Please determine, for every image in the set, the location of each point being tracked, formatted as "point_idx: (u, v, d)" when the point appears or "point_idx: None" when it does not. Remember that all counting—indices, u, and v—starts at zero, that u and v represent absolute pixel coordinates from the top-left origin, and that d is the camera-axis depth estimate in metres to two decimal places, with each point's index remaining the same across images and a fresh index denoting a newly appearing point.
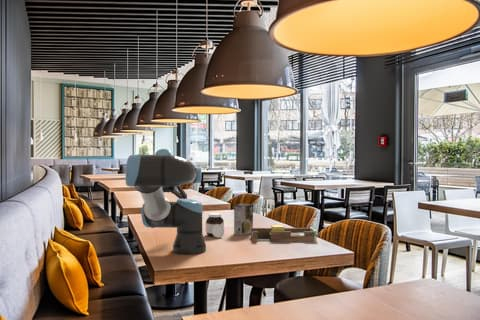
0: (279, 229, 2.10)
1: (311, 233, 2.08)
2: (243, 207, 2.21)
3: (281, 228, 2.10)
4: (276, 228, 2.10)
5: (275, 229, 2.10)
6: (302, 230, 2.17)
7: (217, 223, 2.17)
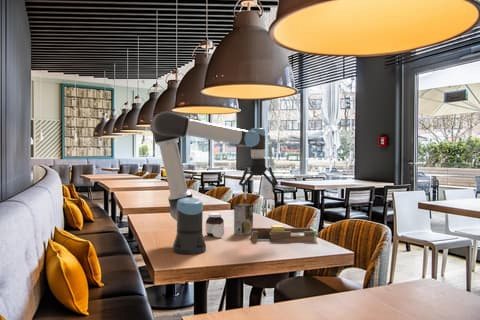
0: (279, 229, 2.10)
1: (311, 233, 2.08)
2: (243, 207, 2.21)
3: (281, 228, 2.10)
4: (276, 228, 2.10)
5: (275, 229, 2.10)
6: (302, 230, 2.17)
7: (217, 223, 2.17)
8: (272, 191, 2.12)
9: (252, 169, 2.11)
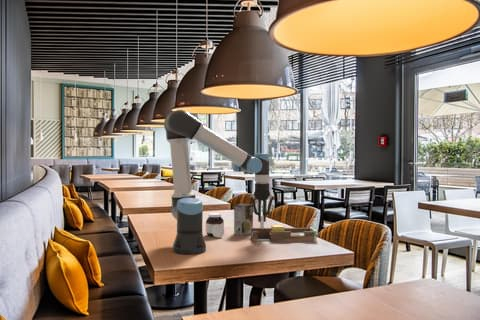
0: (279, 229, 2.10)
1: (311, 233, 2.08)
2: (243, 207, 2.21)
3: (281, 228, 2.10)
4: (276, 228, 2.10)
5: (275, 229, 2.10)
6: (302, 230, 2.17)
7: (217, 223, 2.17)
8: None
9: (256, 194, 2.10)
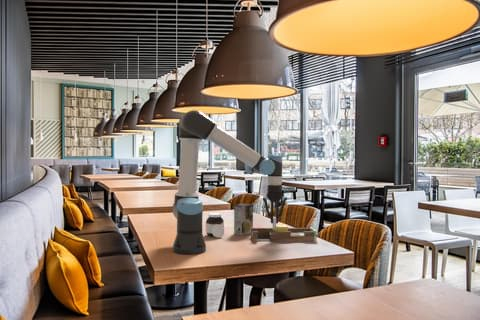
0: (283, 229, 2.10)
1: (311, 233, 2.08)
2: (243, 207, 2.21)
3: (285, 228, 2.10)
4: (280, 228, 2.10)
5: (279, 229, 2.10)
6: (302, 230, 2.17)
7: (217, 223, 2.17)
8: (276, 222, 2.11)
9: (269, 196, 2.10)
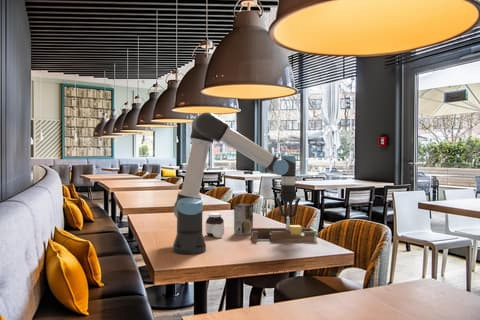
0: (296, 229, 2.10)
1: (311, 233, 2.08)
2: (243, 207, 2.21)
3: (298, 228, 2.10)
4: (293, 228, 2.10)
5: (292, 229, 2.10)
6: (302, 230, 2.17)
7: (217, 223, 2.17)
8: (289, 222, 2.12)
9: (282, 196, 2.11)
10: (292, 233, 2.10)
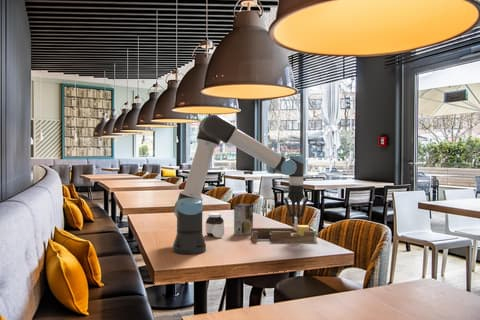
0: (304, 229, 2.10)
1: (311, 233, 2.08)
2: (243, 207, 2.21)
3: (306, 228, 2.10)
4: (301, 228, 2.10)
5: (300, 229, 2.10)
6: None
7: (217, 223, 2.17)
8: (297, 223, 2.12)
9: (290, 196, 2.11)
10: (300, 233, 2.10)
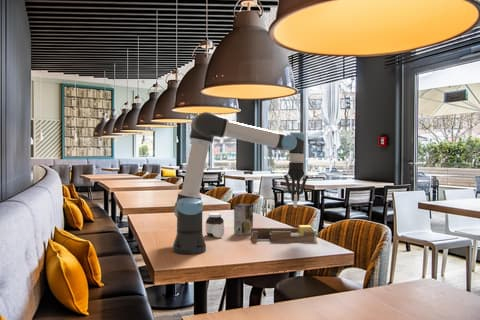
0: (307, 229, 2.10)
1: (311, 233, 2.08)
2: (243, 207, 2.21)
3: (309, 228, 2.10)
4: (304, 228, 2.10)
5: (303, 229, 2.10)
6: None
7: (217, 223, 2.17)
8: (297, 200, 2.12)
9: (290, 173, 2.11)
10: (302, 233, 2.10)
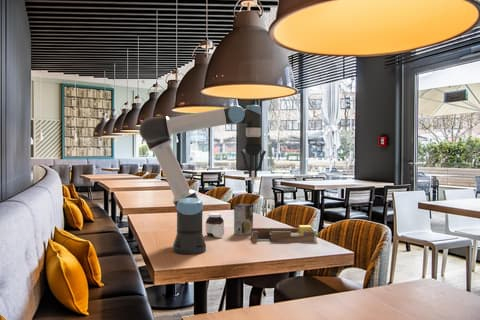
0: (307, 229, 2.10)
1: (311, 233, 2.08)
2: (243, 207, 2.21)
3: (309, 228, 2.10)
4: (304, 228, 2.10)
5: (303, 229, 2.10)
6: None
7: (217, 223, 2.17)
8: None
9: (247, 148, 2.01)
10: (302, 233, 2.10)
